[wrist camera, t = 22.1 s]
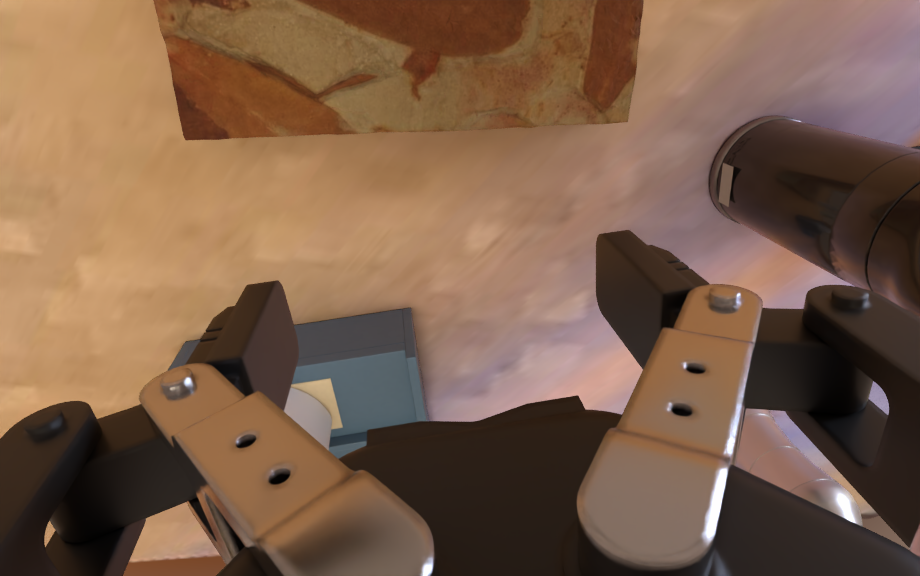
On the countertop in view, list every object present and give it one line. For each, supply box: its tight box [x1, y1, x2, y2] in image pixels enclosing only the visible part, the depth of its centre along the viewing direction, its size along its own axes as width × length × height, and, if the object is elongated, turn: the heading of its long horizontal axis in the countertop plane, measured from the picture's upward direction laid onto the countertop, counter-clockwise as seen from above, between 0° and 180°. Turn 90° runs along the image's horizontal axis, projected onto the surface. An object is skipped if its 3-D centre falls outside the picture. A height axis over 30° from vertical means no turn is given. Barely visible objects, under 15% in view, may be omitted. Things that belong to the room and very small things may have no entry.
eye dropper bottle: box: [284, 388, 332, 450], centre depth 38 cm, size 4×6×12 cm
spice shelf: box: [168, 308, 429, 459], centre depth 48 cm, size 20×16×8 cm
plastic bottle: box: [736, 409, 863, 527], centre depth 51 cm, size 6×7×20 cm
